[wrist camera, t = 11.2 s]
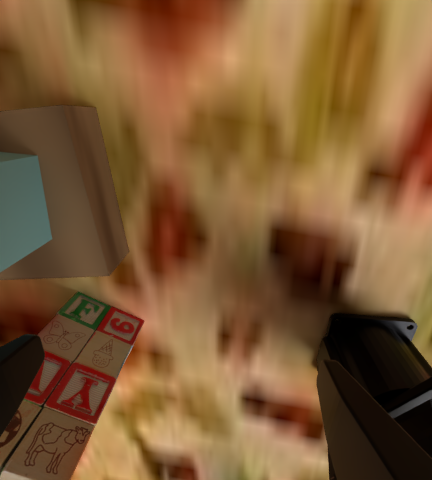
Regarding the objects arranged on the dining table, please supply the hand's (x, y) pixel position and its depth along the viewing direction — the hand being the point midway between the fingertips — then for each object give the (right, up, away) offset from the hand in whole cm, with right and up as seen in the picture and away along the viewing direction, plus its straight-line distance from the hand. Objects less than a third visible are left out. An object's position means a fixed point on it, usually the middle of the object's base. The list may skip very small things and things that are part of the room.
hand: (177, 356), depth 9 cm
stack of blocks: (-12, -10, +19) cm, 25 cm away
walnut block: (-11, +7, +11) cm, 17 cm away
